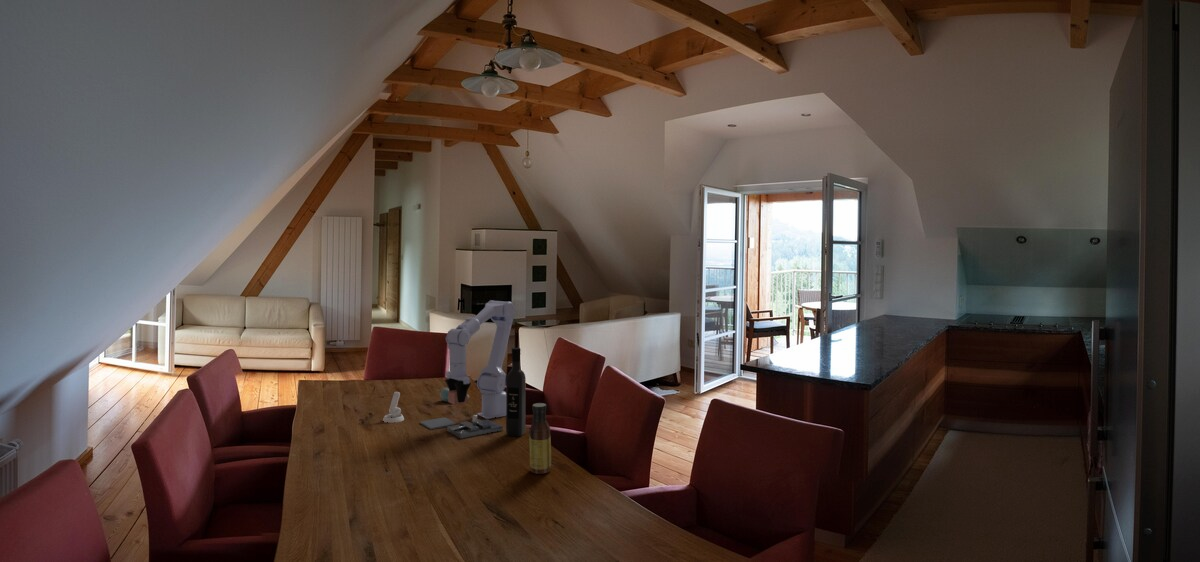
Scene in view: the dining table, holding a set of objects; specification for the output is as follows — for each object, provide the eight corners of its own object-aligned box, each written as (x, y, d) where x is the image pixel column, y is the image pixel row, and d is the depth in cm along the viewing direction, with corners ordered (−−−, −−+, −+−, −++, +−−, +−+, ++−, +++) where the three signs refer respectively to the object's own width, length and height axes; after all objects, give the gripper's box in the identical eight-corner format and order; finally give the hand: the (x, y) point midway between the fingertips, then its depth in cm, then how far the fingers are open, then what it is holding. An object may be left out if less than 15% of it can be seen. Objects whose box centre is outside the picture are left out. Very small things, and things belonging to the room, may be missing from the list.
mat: (445, 418, 241) (445, 417, 241) (457, 425, 233) (457, 423, 233) (419, 423, 235) (419, 421, 235) (430, 429, 227) (430, 428, 227)
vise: (487, 423, 235) (487, 408, 235) (502, 430, 227) (502, 415, 226) (444, 431, 225) (444, 415, 225) (458, 439, 217) (458, 423, 216)
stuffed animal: (473, 389, 265) (444, 386, 261) (470, 406, 265) (441, 403, 260) (468, 384, 275) (440, 381, 270) (465, 400, 275) (437, 397, 270)
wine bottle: (520, 437, 219) (521, 350, 218) (505, 436, 221) (505, 349, 219) (526, 432, 225) (526, 347, 223) (510, 431, 226) (511, 346, 224)
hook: (409, 400, 247) (410, 393, 242) (402, 430, 241) (402, 424, 235) (389, 396, 246) (389, 390, 240) (381, 426, 239) (381, 420, 234)
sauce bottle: (540, 465, 192) (540, 400, 191) (555, 470, 188) (556, 403, 187) (524, 471, 187) (524, 404, 186) (539, 477, 183) (540, 408, 182)
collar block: (461, 400, 233) (461, 389, 232) (467, 402, 229) (467, 391, 228) (448, 402, 229) (448, 391, 229) (454, 404, 226) (454, 393, 225)
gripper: (438, 360, 231) (438, 397, 232) (456, 367, 220) (456, 406, 221) (456, 358, 236) (456, 395, 237) (475, 364, 224) (475, 403, 225)
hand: (457, 400), depth 229 cm, fingers closed on collar block, 5 cm apart
